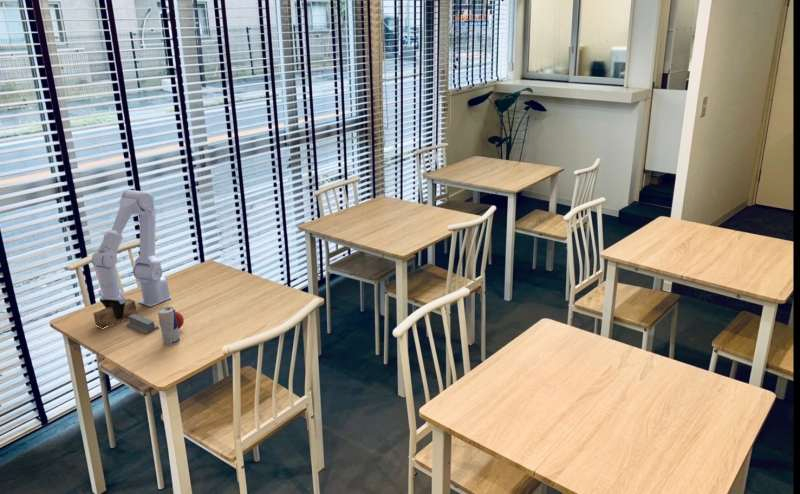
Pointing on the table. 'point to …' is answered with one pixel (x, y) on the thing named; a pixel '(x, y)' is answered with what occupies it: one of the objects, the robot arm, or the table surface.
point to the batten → (108, 315)
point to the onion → (179, 319)
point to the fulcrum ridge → (141, 324)
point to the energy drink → (169, 326)
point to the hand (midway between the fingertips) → (116, 316)
